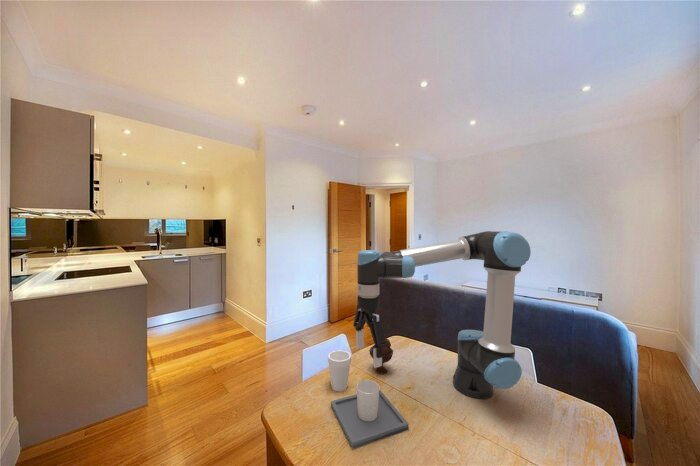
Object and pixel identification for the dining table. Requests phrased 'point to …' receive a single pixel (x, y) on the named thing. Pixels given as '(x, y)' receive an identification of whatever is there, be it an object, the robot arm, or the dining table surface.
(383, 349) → the ice cream bowl
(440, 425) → the dining table surface
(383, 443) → the dining table surface
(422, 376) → the dining table surface
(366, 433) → the tray
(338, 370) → the foam cup
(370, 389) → the white cup
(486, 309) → the robot arm
